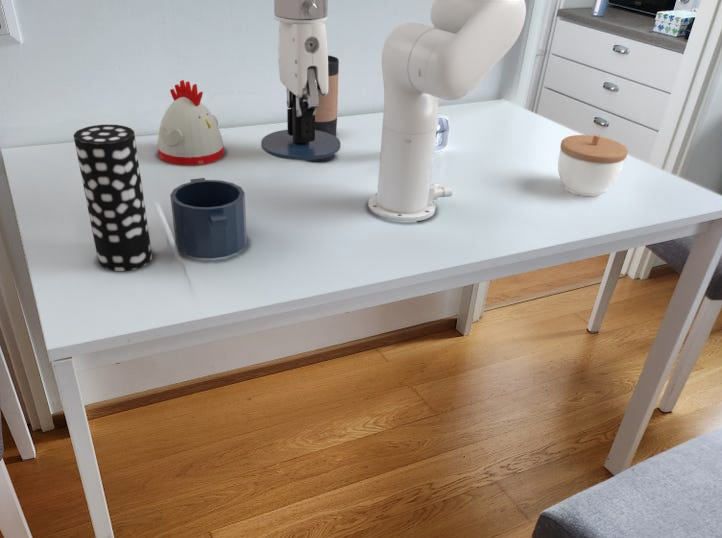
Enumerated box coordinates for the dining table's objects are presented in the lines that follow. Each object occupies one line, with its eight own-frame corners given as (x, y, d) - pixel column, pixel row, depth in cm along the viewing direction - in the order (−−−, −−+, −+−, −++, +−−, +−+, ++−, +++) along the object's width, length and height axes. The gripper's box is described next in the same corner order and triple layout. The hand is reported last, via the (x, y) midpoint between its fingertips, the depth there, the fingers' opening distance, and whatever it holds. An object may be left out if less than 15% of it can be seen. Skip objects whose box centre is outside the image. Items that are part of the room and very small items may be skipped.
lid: (324, 133, 114) (325, 91, 110) (352, 159, 104) (354, 115, 100) (252, 140, 110) (250, 97, 106) (274, 168, 101) (273, 122, 97)
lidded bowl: (560, 173, 145) (573, 121, 138) (620, 186, 140) (637, 133, 133) (543, 192, 136) (555, 137, 129) (606, 207, 131) (623, 151, 125)
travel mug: (331, 164, 144) (335, 65, 132) (297, 160, 145) (297, 61, 133) (338, 152, 150) (342, 56, 138) (305, 148, 151) (306, 53, 139)
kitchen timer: (194, 170, 139) (187, 94, 130) (145, 155, 144) (135, 82, 135) (236, 151, 149) (232, 79, 140) (188, 138, 154) (182, 68, 145)
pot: (233, 219, 121) (230, 170, 116) (258, 263, 109) (256, 211, 103) (168, 227, 118) (162, 177, 112) (187, 273, 105) (181, 220, 100)
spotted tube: (156, 246, 112) (139, 125, 100) (146, 271, 105) (127, 144, 93) (105, 245, 112) (82, 123, 99) (92, 270, 105) (66, 143, 93)
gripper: (347, 17, 90) (342, 153, 101) (307, -4, 102) (306, 119, 113) (293, 20, 88) (294, 158, 99) (259, -2, 100) (263, 123, 111)
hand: (301, 136), depth 106 cm, fingers closed on lid, 2 cm apart
